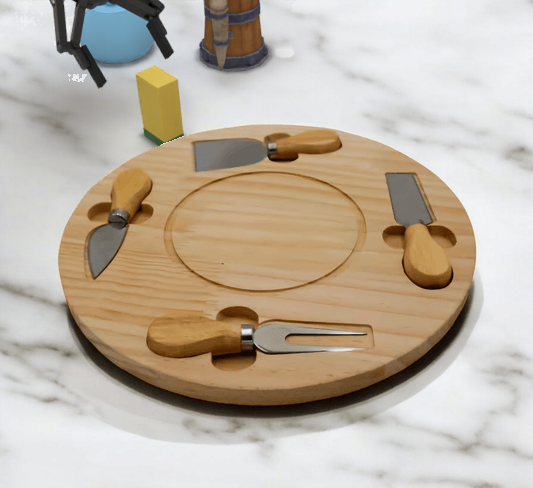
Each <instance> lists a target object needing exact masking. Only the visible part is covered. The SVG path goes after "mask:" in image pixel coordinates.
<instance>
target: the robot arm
mask: <svg viewBox="0 0 533 488" xmlns="http://www.w3.org/2000/svg"><path fill="white" fill-rule="evenodd" d="M65 1H66V0H49V3H50V5H51V7H52V13H53V23H54V38H55V48H56V52H57V53H58V54H63V53H67V54H69V56H73V58H74V59H75V62H76V63H77V64H78V66H79V68H80V69H81V70H82V71H86V70H87V73H89V75H90V77H91V79H92V81H93V82H94V84H95V85H96V87H97V88H98V89H101V88H103V87H104V86H105V84H107V82H108V80H107V78H106V77H105V74H103V71H102V69H101V68H100V66H99V65H98V62H97V60H96V59H94V58H93V56H92V54H91V53H90V51H89V49H88V48H87V46H86V44H85V45H83V46H81V44H80V41H81V35H82V29H83V23H84V17H85V12H86V9H90V10H92V9H94V8H95V7H97V6H103V5H105V4H106V3H107V2H109V3H111V4H116V5H118V6H120V7H122V8H124V9H126V10H128V11H129V12H131V13H133V14H135V15H137V16H139V17H141V18H143V19H144V20H146V21H148V23H147V25H146V27H147V29H148V30H149V32H150V34H151V36H152V37H153V39H154V43H155V44H156V46H157V48H158V50H159V52H160V54H161V55H162V57H163V58H164V60H168V59H169V58H170V57H171V56H172V55H173V54H174V53H175V50H174V49H173V46H172V45H171V43H170V41H169V40H168V38H167V35H168V31H167V29H166V26H165V25H164V23H163V22H162V20H161V18H160V15H161V14H162V12H163V11H164V10H165V8H166V6H165V4H164V3H163V2H162V1H161V0H71V1H72V2H74V3H75V5H74V11H73V20H72V26H71V32H70V38H69V40H68V31H67V20H66V19H67V18H66V10H65V8H66V7H65Z"/></svg>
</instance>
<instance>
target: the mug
mask: <svg viewBox="0 0 533 488" xmlns="http://www.w3.org/2000/svg"><path fill="white" fill-rule="evenodd" d="M260 1H261V0H203V13H204V31H203V32H204V33H203V38H202V39H201V41H200V42H199V44H198V47H199V49H198V51H199V52H198V53H199V54H198V55H199V60H200V62H202V63H203V64H204V65H205V66H207V67H208V68H209V69H212V70H218V71H219V72H226V73H231V72H246V71H249V70H251V69H254V68H257V67H260V66H262V65H263V64H264V62H265V61H266V60H268V58H269V48H268V46H267V44H266V43H265V36H263V34H262V25H261V2H260Z"/></svg>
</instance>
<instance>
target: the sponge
mask: <svg viewBox="0 0 533 488" xmlns="http://www.w3.org/2000/svg"><path fill="white" fill-rule="evenodd" d="M134 75H135V81H136V87H137V94H138V100H139V108H140V115H141V120H142V126H143V127H142V129H143V135H144V136H145V137H146V138H147V139H149V140H150V141H151V142H153V143H154V144H155V145H158V146H159V145H161V144H163V143H166V142H169V141H172V140H174V139H177V138H179V137H182V136H184V137H185V133H184V128H183V127H184V126H183V117H182V107H181V98H180V97H181V96H180V87H179V79H178V78H177V77H175V76H173V75H172V74H170V73H169V72H168V71H166V70H164V69H162V68H161V67H159V66H158V65H155V64H154V65H152V66H150V67H147V68H146V69H145V68H144V69H143V70H141V71H138V72H136V73H135V74H134Z"/></svg>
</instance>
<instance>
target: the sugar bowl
mask: <svg viewBox="0 0 533 488" xmlns="http://www.w3.org/2000/svg"><path fill="white" fill-rule="evenodd" d="M147 23H148V21H146V20H144V19H143V18H141V17H139V16H137V15H135V14H133V13H131V12H129V11H128V10H126V9H124V8H122V7H120V6H118V5H116V4H111V3H109V2H107V3H106V4H105V5H103V6H97V7H95V8H94V9H92V10H90V9H86V11H85V17H84V23H83V29H82V35H81V41H80V47H81V46H83V45H85V44H86V46H87V48H88V49H89V51H90V53H91V54H92V56H93V58H94V60H95V61H97V62H100V63H105V64H115V65H116V64H117V65H119V64H125V63H130V62H133V61H137V60H139V59H141V58H142V57H144V56H145V55H147V53H148V52H149V51H150V50H151V48H152V46H153V45H154V43H155V41H154V39H153V37H152V36H151V34H150V32H149V30H148V29H147V27H146V25H147Z"/></svg>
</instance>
